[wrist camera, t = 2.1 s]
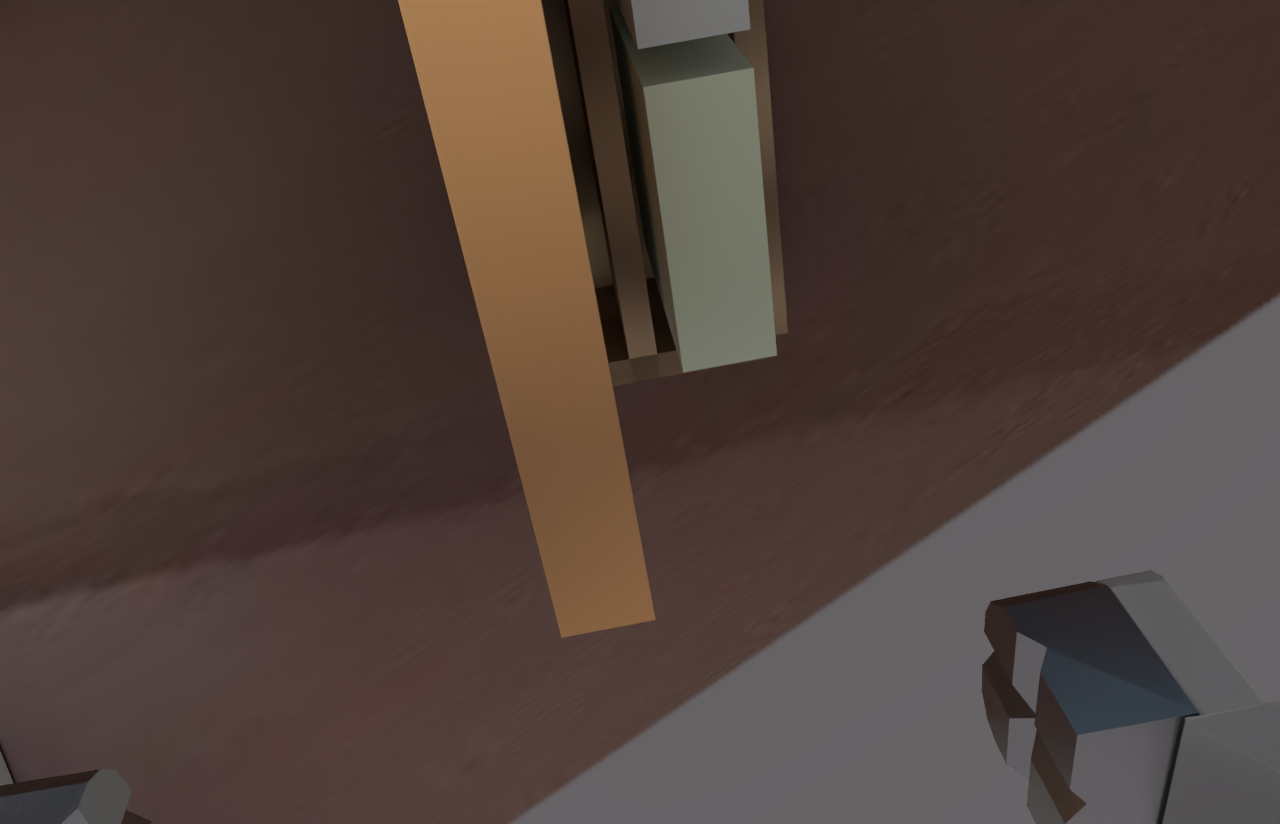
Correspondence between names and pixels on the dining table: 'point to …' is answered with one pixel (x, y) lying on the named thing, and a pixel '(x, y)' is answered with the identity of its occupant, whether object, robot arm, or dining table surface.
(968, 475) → the dining table surface
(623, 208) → the rack
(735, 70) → the offcut sage
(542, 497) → the tall sheet
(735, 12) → the offcut slate
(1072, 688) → the robot arm
